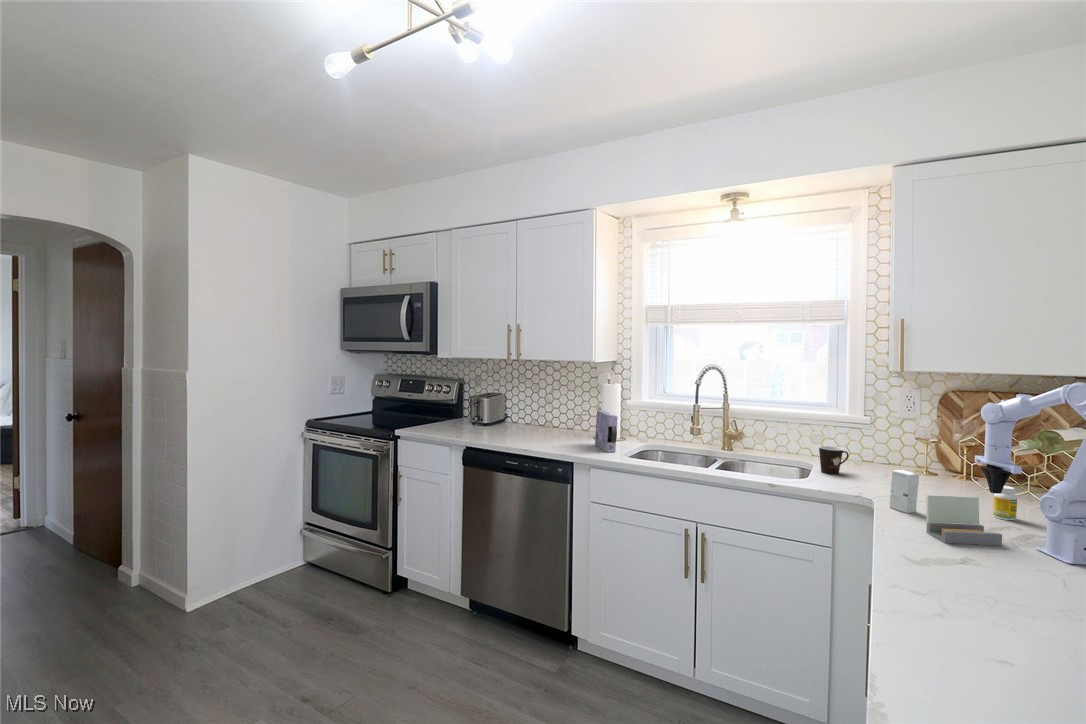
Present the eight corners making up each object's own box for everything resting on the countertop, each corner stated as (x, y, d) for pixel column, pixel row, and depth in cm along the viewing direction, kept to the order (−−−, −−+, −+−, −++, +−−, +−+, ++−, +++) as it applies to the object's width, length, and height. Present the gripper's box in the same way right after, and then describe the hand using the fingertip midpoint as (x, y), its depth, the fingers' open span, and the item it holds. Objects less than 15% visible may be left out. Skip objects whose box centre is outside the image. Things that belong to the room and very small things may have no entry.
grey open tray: (1001, 545, 137) (1002, 534, 137) (944, 543, 138) (945, 531, 138) (980, 535, 144) (980, 524, 144) (926, 532, 146) (926, 522, 146)
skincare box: (888, 507, 169) (890, 470, 168) (899, 506, 170) (900, 469, 169) (907, 513, 163) (908, 474, 162) (917, 512, 164) (919, 473, 164)
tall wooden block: (985, 538, 140) (985, 532, 140) (945, 536, 141) (945, 530, 141) (980, 536, 142) (980, 530, 142) (941, 534, 142) (941, 528, 142)
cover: (978, 497, 145) (976, 496, 146) (928, 495, 146) (926, 494, 147) (979, 524, 144) (977, 523, 145) (928, 522, 145) (926, 521, 146)
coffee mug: (820, 474, 212) (821, 449, 211) (816, 469, 220) (816, 445, 219) (853, 476, 208) (854, 451, 208) (847, 471, 216) (848, 447, 216)
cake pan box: (617, 453, 245) (618, 415, 244) (607, 453, 244) (608, 415, 243) (604, 445, 264) (604, 410, 263) (594, 445, 263) (595, 410, 262)
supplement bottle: (996, 514, 164) (997, 483, 163) (1018, 519, 159) (1020, 487, 159) (990, 517, 161) (991, 486, 160) (1012, 522, 156) (1014, 490, 156)
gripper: (1034, 451, 142) (1032, 501, 142) (993, 441, 156) (991, 486, 157) (1006, 450, 142) (1004, 499, 143) (968, 440, 157) (965, 485, 157)
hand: (995, 492), depth 150 cm, fingers closed
